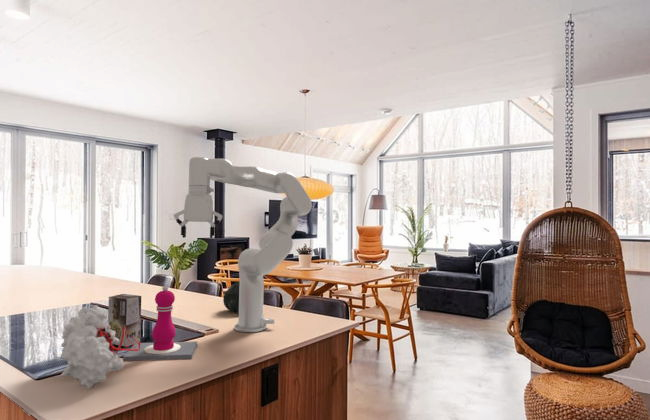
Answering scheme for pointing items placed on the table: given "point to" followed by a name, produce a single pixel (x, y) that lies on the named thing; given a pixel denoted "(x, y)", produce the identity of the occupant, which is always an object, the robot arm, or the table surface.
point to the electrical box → (125, 317)
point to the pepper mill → (164, 321)
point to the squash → (232, 298)
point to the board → (161, 352)
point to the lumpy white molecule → (91, 347)
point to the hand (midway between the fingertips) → (197, 237)
